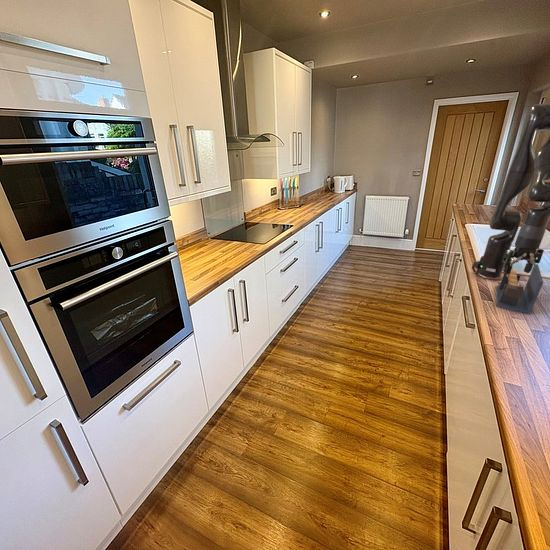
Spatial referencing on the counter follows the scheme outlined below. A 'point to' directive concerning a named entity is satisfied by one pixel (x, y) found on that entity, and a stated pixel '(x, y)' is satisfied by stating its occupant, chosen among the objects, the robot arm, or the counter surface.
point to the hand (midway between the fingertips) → (516, 272)
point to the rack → (527, 297)
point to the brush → (513, 286)
